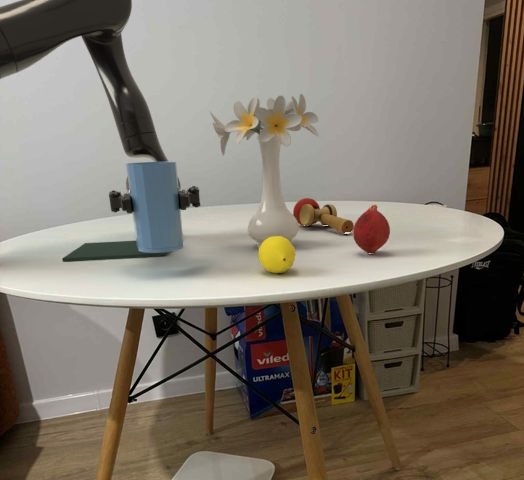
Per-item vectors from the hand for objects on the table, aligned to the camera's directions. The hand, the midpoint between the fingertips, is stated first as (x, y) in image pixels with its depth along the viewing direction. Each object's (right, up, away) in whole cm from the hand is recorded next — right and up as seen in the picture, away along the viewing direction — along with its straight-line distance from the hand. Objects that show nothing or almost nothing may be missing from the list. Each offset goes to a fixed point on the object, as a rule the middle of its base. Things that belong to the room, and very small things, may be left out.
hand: (156, 204), depth 70 cm
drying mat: (-12, -2, +24) cm, 27 cm away
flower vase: (+17, -2, +21) cm, 27 cm away
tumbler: (0, -5, +4) cm, 7 cm away
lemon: (+17, -9, +4) cm, 20 cm away
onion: (+33, -5, +12) cm, 35 cm away
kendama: (+28, +5, +36) cm, 46 cm away
